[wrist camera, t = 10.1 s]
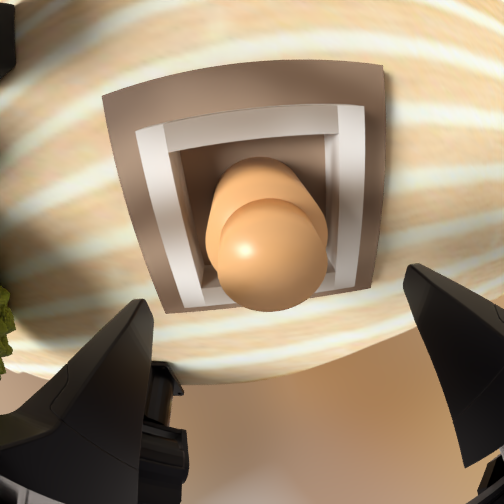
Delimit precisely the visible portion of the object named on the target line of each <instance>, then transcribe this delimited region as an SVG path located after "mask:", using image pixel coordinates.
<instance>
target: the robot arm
mask: <svg viewBox="0 0 504 504" xmlns="http://www.w3.org/2000/svg"><path fill="white" fill-rule="evenodd" d="M403 289H404V292H405V295H406V298H407V300H408V303H409V306H410V309H411V311H412V314H413V317H414V320H415V323H416V325H417V327H418V330H419V332H420V334H421V337H422V339H423V341H424V343H425V346H426V348H427V350H428V353H429V355H430V358H431V360H432V363H433V365H434V368H435V370H436V373H437V376H438V378H439V381H440V384H441V387H442V389H443V392H444V395H445V398H446V401H447V404H448V407H449V410H450V413H451V417H452V420H453V424H454V427H455V431H456V435H457V439H458V442H459V446H460V450H461V455H462V459H463V464H464V467H465V468H467V467H469V466H471V465H472V464H474V463H476V462H478V461H480V460H481V459H483V458H484V457H486V456H488V455H489V454H491V453H493V452H494V451H495V450H497V449H500V452H501V454H500V455H498V456H497V457H496V458H494V459H493V460H492V461H490V462H489V463H488V464H487V467H486V470H485V472H484V475H483V478H482V480H481V482H480V485H479V487H478V490H477V492H478V496H477V497H475V498H474V499H472V500H471V501H469V502H468V503H466V504H504V309H503V308H501V307H499V306H498V305H496V304H493V303H492V302H491V301H489V300H487V299H485V298H484V297H482V296H480V295H478V294H476V293H475V292H473V291H471V290H469V289H467V288H466V287H464V286H462V285H460V284H458V283H456V282H454V281H452V280H451V279H449V278H447V277H445V276H443V275H441V274H439V273H437V272H435V271H433V270H431V269H429V268H427V267H425V266H423V265H421V264H419V263H415V264H410V265H408V267H407V270H406V274H405V278H404V282H403ZM153 327H154V319H153V315H152V313H151V311H150V309H149V307H148V304H147V302H146V301H145V300H144V299H134V300H132V301H131V302H130V303H129V304H127V305H126V306H125V307H124V308H123V309H122V310H121V311H120V312H119V313H118V314H117V315H116V316H115V317H114V318H113V319H111V320H110V321H109V322H108V323H107V324H106V325H105V326H104V327H103V328H102V329H101V330H100V331H99V332H98V333H97V334H96V335H95V336H94V337H93V338H92V339H91V340H90V341H89V342H88V343H87V344H86V345H85V346H84V347H82V348H81V349H80V350H79V351H78V352H77V353H76V354H75V355H74V356H73V357H72V358H71V359H70V360H69V361H68V364H65V365H64V367H63V368H62V369H61V370H60V371H59V372H58V373H57V374H56V375H55V376H54V377H53V378H52V379H51V380H49V381H48V382H47V383H46V384H45V385H44V386H43V387H42V388H41V389H40V390H39V391H37V392H36V393H35V394H34V395H33V396H32V397H31V398H30V399H29V400H28V401H26V402H25V403H24V404H23V405H22V406H21V407H20V408H18V409H17V410H16V411H14V412H11V413H9V414H4V415H0V504H180V502H181V491H182V484H183V483H184V482H185V481H186V479H187V476H188V471H189V455H188V444H187V433H186V430H184V429H176V428H172V427H169V423H170V415H171V406H172V398H173V396H182V395H184V390H183V389H182V387H181V385H180V384H179V382H178V380H177V379H176V377H175V376H174V374H173V372H172V370H171V369H170V367H169V365H168V364H166V363H164V362H151V357H152V341H153Z"/></svg>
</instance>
